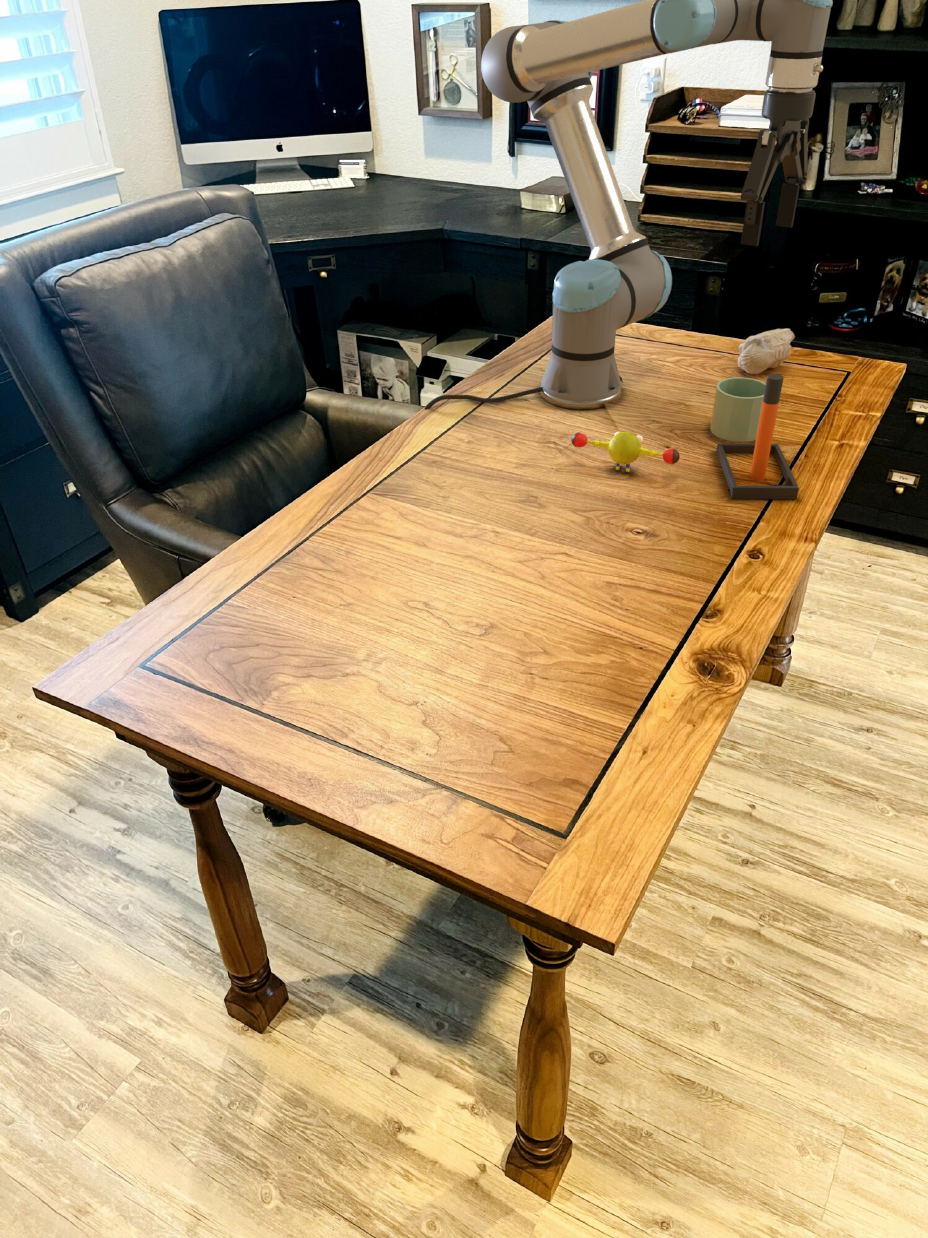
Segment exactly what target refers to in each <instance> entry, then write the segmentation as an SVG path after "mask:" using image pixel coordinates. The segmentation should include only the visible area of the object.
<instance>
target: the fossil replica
mask: <svg viewBox="0 0 928 1238" xmlns="http://www.w3.org/2000/svg"><path fill="white" fill-rule="evenodd" d="M795 337H796V336H795V334H794V332H793V331H792V330H791V328H776V329H771V330H766V331H763V332H761V333H757V334H756V335H750V336H748V337H747V338H746V339H745V340H744V342H742V343H740V344H739V345H738V348H737V349H738V352H739V356H738V359H737V366H738V367H739V368H740V370H742V371H744V372H745V373H746V374H747V373H748V374H749V375H760V374H761V373H763V372H764V371H766V370H768V369H776V368H777V367H779V366H781V365H782V364H783V363H784V362H785V361H786V360H788V359H789V358H790V357H791V354H792V345H791V342H792V341H793V340H794V339H795Z"/></svg>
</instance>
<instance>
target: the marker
mask: <svg viewBox="0 0 928 1238" xmlns="http://www.w3.org/2000/svg"><path fill="white" fill-rule="evenodd" d="M784 378H785V377H784V376H783V375H782V374H780V373H769V374H767V376H766V380H765V383H766V385H765V391H764V397H763V402H762V408H761V414H760V420H759V425H758V431H757V437H756V440H755V443H754V444H755V448H754V453H752V460H751V466H750V471H749V479H751V480H752V481H755V482H762V481H764V480H765V479H766V475H767V470H768V464H769V459H770V454H771V453H770V449H771V444H773V443H772V442H773V438H774V433H775V427H776V422H777V416H778V412H779V411H778V410H779V404H780V399H781V395H782V390H783V383H784Z"/></svg>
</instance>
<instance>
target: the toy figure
mask: <svg viewBox="0 0 928 1238" xmlns="http://www.w3.org/2000/svg"><path fill="white" fill-rule="evenodd" d="M570 441H571V444H572V446H574V447H575V448H584V447H586V445H587V444H591V445H592V446H593V447H595V448H600V449H604V450H606V451H607V452H608V455H609V457H610V458H611V460H612V461H613V462H615V463H616V465H615V466H616V467H615V469H614V471H615V472H621V470H622V469H623V468H622V467H623V466H625V471H624V473H626V474H630V472H631V464H633V463H634V462H635V461H637V460H638V458H639V457H642V456H646V457H650V458H655V457H662V460H663V462H665V463H666V464H668V465H675V464H677V463H678V462H679V461H680V457H681V456H680V452H679V451H678V450H677V449H675V448H673V449H672V448H670V449H669V448H668V449H666V450H664V451H663V452H657V451H656V450H654V449H649V448H645V447H644V446H642V444H641V443H642V442H643V441H644V437H643V436H642V435H641V434H638V435H636V434H635V433H632V432H629V431H616V432H615V433H614V435H613V436H612V438H611V439H610V440H608V441H607V440H606V441H602V440H598V439H595V440H589V439H588V437H587V435H586V434H585V433H581V432H576V433H574V434H573V435H572V436H571V439H570ZM621 465H623V466H621Z"/></svg>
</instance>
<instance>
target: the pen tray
mask: <svg viewBox="0 0 928 1238" xmlns="http://www.w3.org/2000/svg"><path fill="white" fill-rule="evenodd" d="M754 448H755V443H717V445H716V454H717V457H718V461H719V463H720V465H721V468H722V472H723V474H724V477H725V480H726V483H727V486H728V489H727V490H728V493H729V496H730V498H731V499H732V500H798V494H799V490H800V488H799V485H798V483H797V481H796V479H795V477H794V475H793V473H792V471H791V468H790V466H789V464H788V463H787V459H786V458H785V456H784V454H783V451H782V450H781V447H780V445H779V443H771V449H770V454H773V456H774V458H775V460H776V463H777V465H778V467H779V469H780V472H781V474H782V476H783V478H784V480H785V483H786V484H774V485H737V481H736V479H735V476H734V474H733V471H732V468H731V466H730V463H729V460H728V457H727V455H726V454H754Z"/></svg>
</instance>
